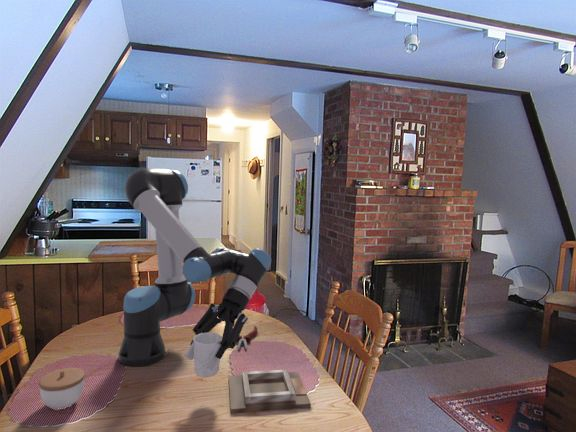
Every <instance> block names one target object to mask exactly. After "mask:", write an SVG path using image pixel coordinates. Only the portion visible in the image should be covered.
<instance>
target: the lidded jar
mask: <svg viewBox="0 0 576 432" xmlns="http://www.w3.org/2000/svg"><path fill="white" fill-rule="evenodd" d="M38 385H39V386H38V387H39V395H40V398H41V400H42V403H43V404H44V405H45V406H46V407H48V408H50V409H51V408H54V409H58V408H64V407H67V406H70V405H72V404H73V403H75V404H76V402H77V401H78V400H79V399H80V397H81V396H82V394H83V391H84V388H85V387H84V386H85V371H84V370H82V369H81V368H79V367H64V368H59V369H55V370H52V371H50V372H48V373H46V374H44V375H43V376H42V377H41V378H40V379H39V382H38Z"/></svg>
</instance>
